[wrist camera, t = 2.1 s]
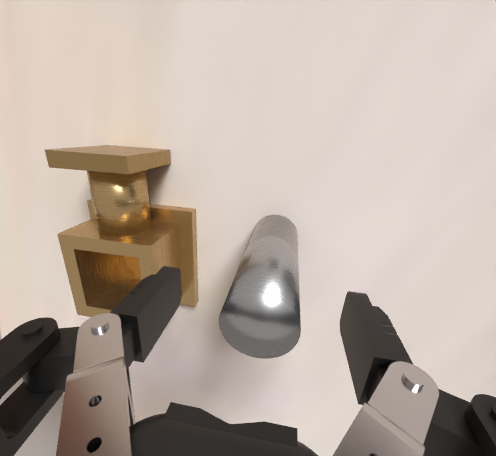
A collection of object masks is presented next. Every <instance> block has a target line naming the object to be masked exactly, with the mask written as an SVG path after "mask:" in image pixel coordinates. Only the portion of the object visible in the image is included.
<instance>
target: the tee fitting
mask: <svg viewBox="0 0 496 456" xmlns="http://www.w3.org/2000/svg"><path fill="white" fill-rule="evenodd" d="M45 152H46V157H47V161H48V165H49V167H52V168H63V169H75V170H86V171H87V174H88V180H89V185H90V191H91V196H92V199H91V200H88V206H89V212H90V217H91V220H88V221H86V222H84V223H81V224H79V225H77V226H74V227H72V228H70V229H68V230H65V231H63V232H61V233H58V238H59V242H60V246H61V250H62V254H63V258H64V262H65V266H66V270H67V274H68V278H69V282H70V286H71V290H72V294H73V298H74V302H75V306H76V310H77V314H78V315H83V316H89V317H94V316H96V315H99V314H104V313H110V312H111V311H112V310H113V309H114V308H115V306H116V305H117V304H118V303H119V302H120V301H121V300H122V299H123V298H124V297H125V296H126V295H127V294H128V293H130V291H131V290H132V289H133V288H135V286H136V285H137V284H138V283H139V282H140V281H141V280H142V279H144V278H146V277H148V276H150V275H151V274H153V275H155V274H156V273H157V272H158V271H159V270H160V269H161V268H162V267H163V266H169V267H177V268H180V271H181V288H182V297H181V302H180V305H187V306H193V307H195V306H196V304H197V302H198V279H197V240H196V209H191V208H182V207H172V206H163V205H153V204H149V194H148V183H147V173H146V170H148V169H152V168H156V167H160V166H163V165H167V164H171V160H170V150H164V149H150V148H136V147H122V146H108V145H105V146H91V147H77V148H62V149H48V150H45Z"/></svg>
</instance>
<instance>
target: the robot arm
mask: <svg viewBox="0 0 496 456" xmlns="http://www.w3.org/2000/svg"><path fill="white" fill-rule="evenodd" d="M181 297H182V288H181V271H180V268H177V267H169V266H163V267H162V268H161V269H160V270H159V271H158V272H157V273H156V274H155V275H153V274H151V275H150V276H148V277H146V278H144V279H142V280H141V281H140V282H139V283H138V284H137V285H136V286H135V288H133V289H132V290H131V291H130V293H128V294H127V295H126V296H125V297H124V298H123V299H122V300H121V301H120V302H119V303H118V304H117V305H116V306H115V308H114V309H113V310H112V311H111V312H110V313H104V314H99V315H96V316H94V317H91V318H89V319H88V320H86V321H85V322H84V323H83V324H82V325H81V326H80V327H71V328H60V329H59V328H58V325H57V322H56V320H54V319H52V318H38V319H34V320H31V321H28V322H26V323H24V324H22V325H20V326H19V327H17V328H16V329H14V330H13V331H12V332H10V333H9V334H8V335H7V336H5V337H4V338H3V339H1V340H0V399H1V397H2V396H3V395H4V394H5V393H6V392H7V391H8V390H9V389H10V388H11V387H12V386H13V385H14V384H15V383H16V382H17V381H18V380H19V379H20V378H21V377H22V378H23V380H24V382H23V383H22V384H21V385H20V386H19V387H18V388H17V389H16V390H15V391H14V392H13V393H12V394H11V395H10V396H9V397H8V398H7V399H6V400H5V401H4V402H3V403H2V404H1V405H0V456H14V454H15V453H16V452H17V451H18V449H19V448H20V447H21V446H22V444H23V443H24V442H25V440H26V439H27V438H28V437H29V436H30V434H31V433H32V432H33V430H34V429H35V428H36V427H37V426H38V424H39V423H40V422H41V420H42V419H43V418H44V417H45V415H46V414H47V413H48V412H49V410H50V409H51V408H52V407H53V405H54V404H55V403H56V402H57V400H58V399H59V398H60V397H61V395H62V394H63V393H64V392H65V393H64V400H63V407H62V415H61V422H60V429H59V437H58V444H57V451H56V456H318V455H317V454H316V453H314V452H313V451H312V450H311V449H310V448H308V447H307V446H305V445H304V444H302V443H300V442H298V441H297V428H292V427H288V426H283V425H278V424H273V423H268V422H255V423H243V424H228V423H226V422H224V421H222V420H221V419H219V418H217V417H215V416H213V415H211V414H210V413H208V412H206V411H204V410H202V409H200V408H196V407H191V406H186V405H181V404H176V403H172V402H170V405H169V407H168V409H167V412H166V413H165V414H158V415H154V416H151V417H148V418H145V419H143V420H141V421H139V422H137V423H135V417H134V409H133V399H132V390H131V381H130V372H129V366H130V365H131V363H132V362H133V361H139V362H144V361H145V359H146V358H147V356H148V354H149V353H150V351H151V350H152V348H153V346H154V345H155V343H156V342H157V340H158V339H159V337H160V335H161V334H162V332H163V331H164V329H165V327H166V326H167V324H168V323H169V321H170V319H171V318H172V316H173V315H174V313H175V312H176V310H177V308H178V307H179V305H180V302H181ZM340 332H341V336H342V340H343V344H344V348H345V352H346V356H347V360H348V364H349V368H350V372H351V376H352V381H353V385H354V389H355V393H356V397H357V401H358V404H361V405H363V406H362V408H361V410H360V411H359V413H358V415H357V416H356V418H355V420H354V421H353V423H352V425H351V426H350V428H349V430H348V431H347V433H346V435H345V436H344V438H343V439H342V441H341V443H340V444H339V446H338V448H337V449H336V451H335V453H334V454H333V456H496V398H495V397H493V396H489V395H484V394H479V395H475V396H474V397H473V398H472V400H471V402H468V401H465V400H463V399H460V398H458V397H456V396H453V395H451V394H448V393H446V392H444V391H442V390H440V389H438V387H437V385H436V383H435V382H434V380H433V379H432V378H431V377H430V376H429V375H428V374H427V373H426V372H424V371H423V370H422V369H420V368H419V367H417V366H415V365H413V363H412V361H411V359H410V357H409V355H408V354H407V352H406V350H405V348H404V346H403V344H402V342H401V340H400V338H399V336H398V335H397V333H396V331H395V329H394V327H393V325H392V323H391V321H390V319H389V317H388V316H387V315H386V314H385V313H384V312H383V311H382V310H381V309H380V308H379V307H375V306H372V304H371V302H370V300H369V298H368V296H367V294H364V293H357V292H347V295H346V298H345V302H344V306H343V310H342V314H341V319H340Z"/></svg>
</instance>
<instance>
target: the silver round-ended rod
mask: <svg viewBox="0 0 496 456" xmlns="http://www.w3.org/2000/svg"><path fill="white" fill-rule="evenodd" d="M219 325H220V329H221V332H222V334H223V336H224V338H225V339H226V340H227V342H228V343H229V344H230V345H231V346H232V347H234V348H235V349H236V350H238V351H240V352H241V353H243V354H246V355H248V356H252V357H256V358H275V357H279V356H282V355H284V354H286V353H288V352H289V351H290V350H292V349H293V348H294V347H295V345H296V344H297V342H298V340H299V337H300V331H301V327H300V299H299V270H298V241H297V230H296V228H295V226H294V224H293V223H292V222H291V221H290V220H289V219H287V218H286V217H283V216H280V215H270V216H266V217H264V218H263V219H261V220H260V221H259V222H258V223H257V225H256V227H255V229H254V232H253V234H252V236H251V239H250V241H249V244H248V246H247V249H246V251H245V254H244V256H243V259H242V261H241V264H240V266H239V269H238V271H237V274H236V276H235V279H234V281H233V283H232V286H231V288H230V291H229V293H228V296H227V298H226V301H225V303H224V306H223V308H222V311H221V313H220V318H219Z"/></svg>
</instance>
